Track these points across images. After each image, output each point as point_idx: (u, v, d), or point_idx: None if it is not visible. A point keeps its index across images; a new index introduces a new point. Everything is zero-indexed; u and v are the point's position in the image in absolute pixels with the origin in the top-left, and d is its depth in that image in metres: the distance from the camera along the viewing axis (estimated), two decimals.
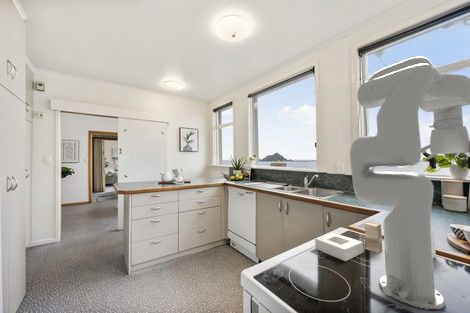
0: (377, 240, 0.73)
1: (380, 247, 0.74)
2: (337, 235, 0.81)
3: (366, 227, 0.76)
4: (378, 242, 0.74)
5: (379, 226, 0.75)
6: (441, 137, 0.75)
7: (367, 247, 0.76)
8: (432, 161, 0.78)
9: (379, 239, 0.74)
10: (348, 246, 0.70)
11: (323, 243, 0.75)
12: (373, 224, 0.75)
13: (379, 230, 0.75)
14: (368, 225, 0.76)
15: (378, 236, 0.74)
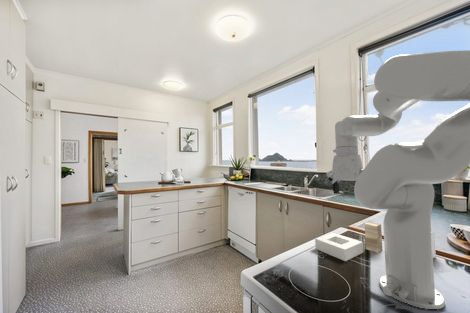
0: (377, 240, 0.73)
1: (380, 247, 0.74)
2: (337, 235, 0.81)
3: (366, 227, 0.76)
4: (378, 242, 0.74)
5: (379, 226, 0.75)
6: (340, 164, 0.77)
7: (367, 247, 0.76)
8: (334, 186, 0.80)
9: (379, 239, 0.74)
10: (348, 246, 0.70)
11: (323, 243, 0.75)
12: (373, 224, 0.75)
13: (379, 230, 0.74)
14: (368, 225, 0.76)
15: (378, 236, 0.74)
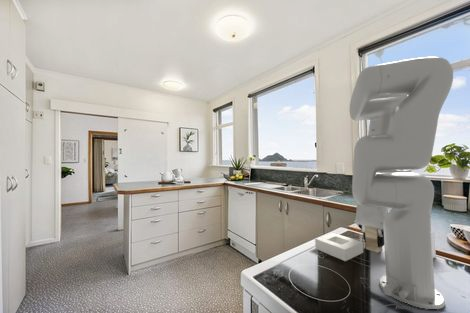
0: (377, 240, 0.73)
1: (380, 247, 0.74)
2: (337, 235, 0.81)
3: (366, 227, 0.76)
4: None
5: None
6: (364, 210, 0.76)
7: (367, 247, 0.76)
8: None
9: None
10: (348, 246, 0.70)
11: (323, 243, 0.75)
12: None
13: None
14: None
15: None
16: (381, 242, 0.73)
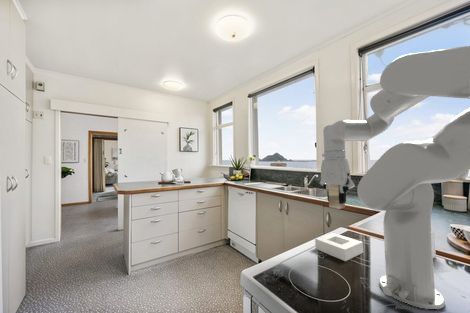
0: None
1: (342, 204, 0.75)
2: (337, 235, 0.81)
3: (329, 185, 0.77)
4: None
5: None
6: (327, 168, 0.77)
7: (330, 205, 0.77)
8: (328, 194, 0.78)
9: None
10: (348, 246, 0.70)
11: (323, 243, 0.75)
12: None
13: None
14: None
15: None
16: (342, 198, 0.73)
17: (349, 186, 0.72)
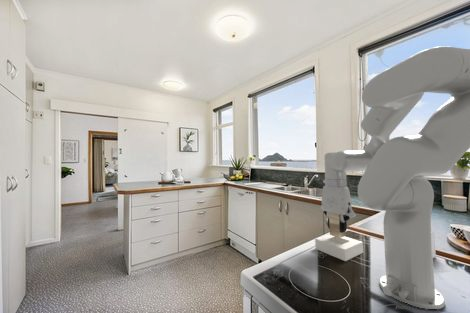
0: (339, 225, 0.74)
1: (343, 232, 0.75)
2: None
3: (330, 213, 0.77)
4: None
5: None
6: (328, 196, 0.76)
7: (331, 233, 0.76)
8: None
9: None
10: (348, 246, 0.70)
11: (323, 243, 0.75)
12: None
13: None
14: None
15: None
16: (343, 227, 0.73)
17: (350, 216, 0.71)
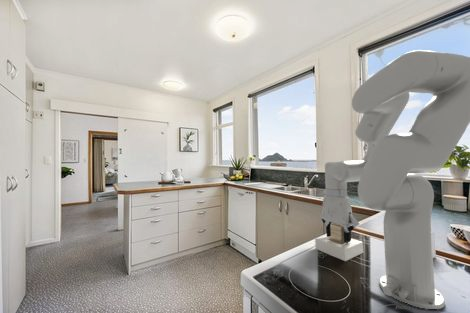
0: (341, 241, 0.73)
1: None
2: None
3: (331, 228, 0.76)
4: (342, 243, 0.73)
5: None
6: (329, 206, 0.76)
7: None
8: (327, 229, 0.78)
9: (343, 240, 0.74)
10: (348, 246, 0.70)
11: (323, 243, 0.75)
12: (338, 225, 0.75)
13: (344, 231, 0.74)
14: (333, 226, 0.75)
15: (342, 237, 0.74)
16: (347, 238, 0.72)
17: (354, 225, 0.70)
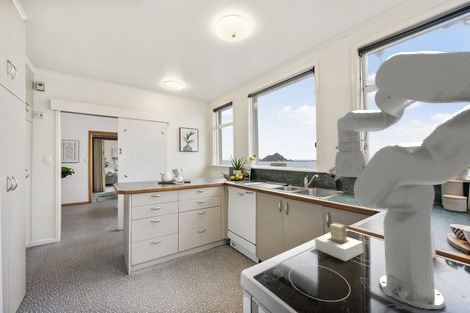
0: (341, 241, 0.73)
1: None
2: None
3: (331, 228, 0.76)
4: (342, 243, 0.73)
5: (344, 227, 0.74)
6: (342, 160, 0.76)
7: None
8: (337, 183, 0.79)
9: (343, 240, 0.74)
10: (348, 246, 0.70)
11: (323, 243, 0.75)
12: (338, 225, 0.75)
13: (344, 231, 0.74)
14: (333, 226, 0.75)
15: (342, 237, 0.74)
16: None
17: None
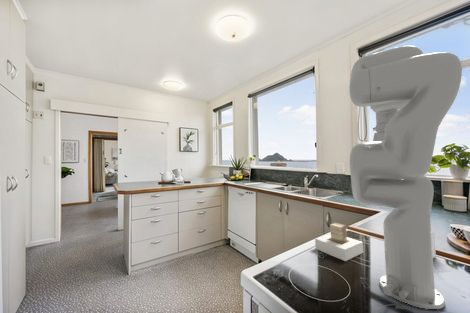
0: (341, 241, 0.73)
1: None
2: None
3: (331, 228, 0.76)
4: (342, 243, 0.73)
5: (344, 227, 0.74)
6: (381, 140, 0.75)
7: None
8: None
9: (343, 240, 0.74)
10: (348, 246, 0.70)
11: (323, 243, 0.75)
12: (338, 225, 0.75)
13: (344, 231, 0.74)
14: (333, 226, 0.75)
15: (342, 237, 0.74)
16: None
17: None
